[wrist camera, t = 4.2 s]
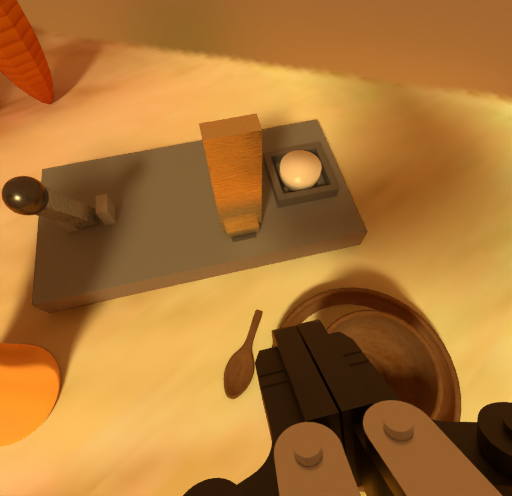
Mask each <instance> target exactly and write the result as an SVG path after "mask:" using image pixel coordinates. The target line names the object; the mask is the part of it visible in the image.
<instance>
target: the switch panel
mask: <svg viewBox="0 0 512 496" xmlns="http://www.w3.org/2000/svg"><path fill="white" fill-rule="evenodd" d="M295 150H304V151H308V152H311V153H313V154H314V155H316V156H317V157H318V158H319V160H320V162H321V165H322V169H321V173H320V177H319V181H318V183H317V185H316V186H315V187H314V188H311V189H306V190H301V191H296V192H295V191H291V190H289V189H287V188H286V187H285V186H284V185H283V184H282V183H281V181H280V178H279V173H280V162H281V160H282V158H283V157H284V156H285V155H286V154H287V153H289V152H292V151H295ZM41 183H42V184H43V185H44V186H45V187H47V188H50V189H52V190H54V191H56V192H59V193H61V194H63V195H66V196H68V197H70V198H72V199H75V200H77V201H79V202H81V203H84V204H86V205H88V206H90V207H93V208H95V209H96V214H97V216H98V221H99V225H94V226H89V227H84V228H82V227H79V226H75V225H71V224H68V223H64V222H60V221H57V220H53V219H49V218H46V217H42V216H39V219H38V233H37V246H36V259H35V272H34V285H33V298H32V305H33V306H35V307H38V308H40V309H42V310H44V311H46V312H48V313H51V312H56V311H60V310H65V309H69V308H74V307H78V306H83V305H87V304H92V303H97V302H101V301H106V300H110V299H115V298H119V297H124V296H128V295H133V294H137V293H142V292H146V291H151V290H155V289H160V288H164V287H169V286H173V285H178V284H183V283H187V282H192V281H196V280H201V279H205V278H210V277H214V276H219V275H223V274H228V273H232V272H237V271H241V270H246V269H250V268H255V267H259V266H264V265H269V264H273V263H278V262H282V261H287V260H291V259H296V258H300V257H305V256H309V255H314V254H318V253H323V252H327V251H332V250H336V249H341V248H346V247H350V246H355V245H359V244H360V243H361V242H362V240H363V238H364V237H365V235H366V233H367V230H366V228H365V226H364V223H363V221H362V219H361V217H360V214H359V212H358V210H357V208H356V206H355V203H354V201H353V199H352V197H351V194H350V192H349V190H348V188H347V185H346V183H345V181H344V179H343V176H342V174H341V172H340V170H339V168H338V165H337V163H336V161H335V159H334V156H333V154H332V152H331V150H330V147H329V145H328V143H327V141H326V139H325V136H324V134H323V132H322V130H321V127H320V125H319V123H318V121H317V120H312V121H306V122H301V123H295V124H290V125H284V126H279V127H273V128H267V129H262V217H261V223H260V224H259V231H257V232H252V233H247V234H242V235H237V236H233V237H228V238H227V233H226V231H222V230H221V225H220V221H219V216H218V211H217V206H216V202H215V197H214V192H213V187H212V183H211V178H210V173H209V168H208V164H207V159H206V154H205V149H204V145H203V140H201V141H196V142H190V143H185V144H179V145H174V146H168V147H163V148H157V149H151V150H146V151H140V152H135V153H129V154H124V155H118V156H113V157H107V158H102V159H96V160H91V161H85V162H80V163H74V164H69V165H63V166H58V167H52V168H47V169H42V180H41Z"/></svg>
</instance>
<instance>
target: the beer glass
mask: <svg viewBox="0 0 512 496" xmlns="http://www.w3.org/2000/svg"><path fill="white" fill-rule="evenodd" d="M59 390H60V371H59V367H58V364H57V362H56V360H55V359H54V357H53V356H52V355H51V354H50V353H49V352H48V351H46V350H45V349H43V348H41V347H38V346H35V345H29V344H4V343H0V447H2V446H7V445H10V444H13V443H16V442H18V441H20V440H22V439H24V438H25V437H27V436H28V435H30V434H31V433H32V432H34V431H35V430H36V429H37V428H38V427H39V426H40V425H41V424H42V423H43V422H44V421H45V419H46V418H47V417H48V415H49V414H50V412H51V411H52V409H53V407H54V405H55V403H56V400H57V397H58V394H59Z"/></svg>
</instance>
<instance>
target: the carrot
mask: <svg viewBox="0 0 512 496" xmlns="http://www.w3.org/2000/svg"><path fill="white" fill-rule="evenodd" d="M0 71H1V72H2V73H3V74H4V75H5V76H6V77H8V78H9V79H10V80H11V81H12V82H13V83H14V84H15V85H16V86H17V87H19V88H20V89H22V90H23V91H24V92H26V93H27V94H29V95H30V96H32V97H34V98H35V99H37V100H39V101H41V102H43V103H47V104H51V103H52V100H53V83H52V78H51V73H50V69H49V67H48V64H47V61H46V58H45V56H44V53H43V51H42V48H41V46H40V44H39V41H38V39H37V37H36V35H35V33H34V31H33V29H32V27H31V26H30V24H29V22H28V20H27V18H26V16H25V14H24V13H23V11H22V9H21V7H20V5H19V4H18V2H17V0H0Z"/></svg>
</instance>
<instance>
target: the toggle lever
mask: <svg viewBox="0 0 512 496" xmlns="http://www.w3.org/2000/svg"><path fill="white" fill-rule="evenodd" d="M2 199H3V201H4V203H5V205H6V206H7V207H8V208H9V209H10V210H12V211H13V212H15V213H18V214H21V215H34V214H35V215H38V216H42V217H46V218H49V219H53V220H57V221H60V222H64V223H68V224H71V225H75V226H79V227H82V228H84V227H89V226H94V225H99V221H98V216H97V214H96V209H95V208H93V207H90V206H88V205H86V204H84V203H81V202H79V201H77V200H75V199H72V198H70V197H68V196H66V195H63V194H61V193H59V192H56V191H54V190H52V189H50V188H47V187H45V186H44V185H43V184H42V183H41V182H40V181H38V180H37V179H35V178H32V177H27V176H19V177H15V178H12V179H10V180H9V181H8V182H7V183H6V184H5V185H4V187H3V189H2Z"/></svg>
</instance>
